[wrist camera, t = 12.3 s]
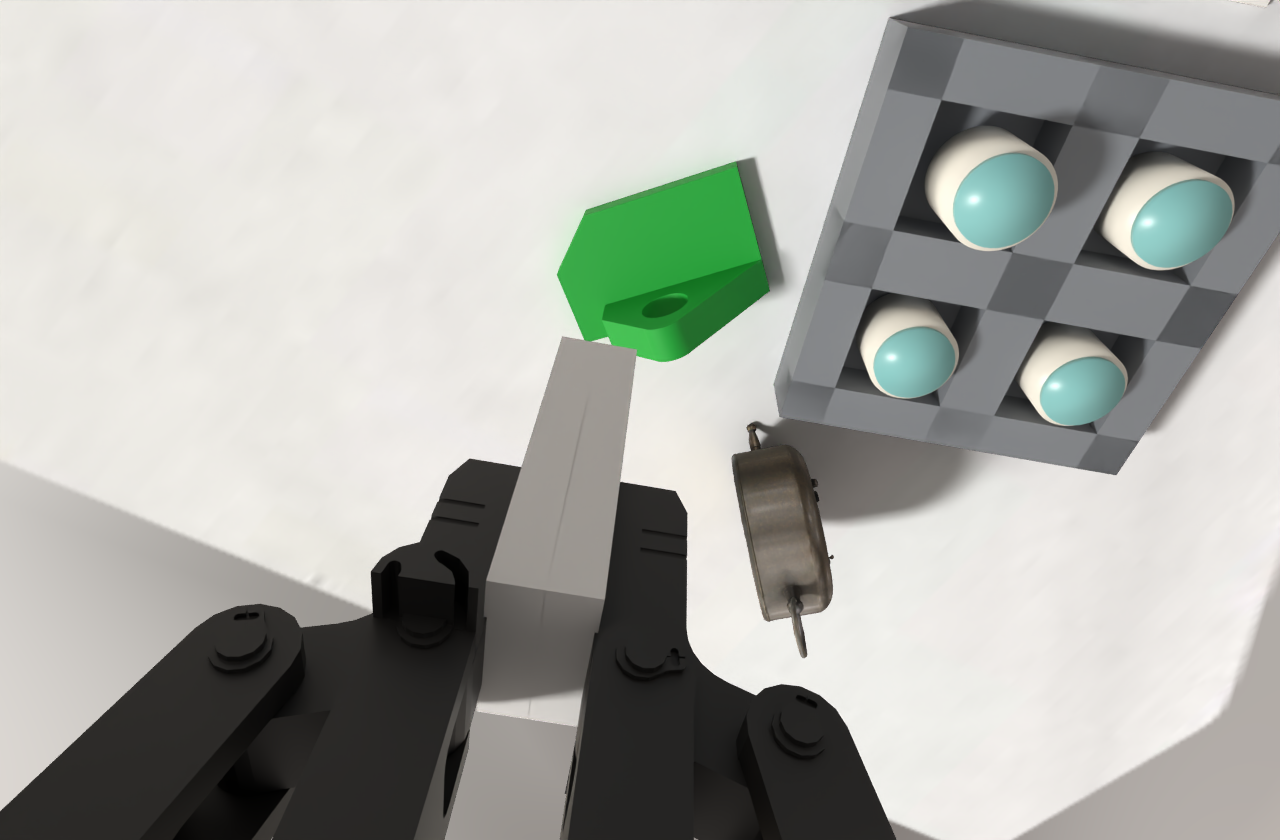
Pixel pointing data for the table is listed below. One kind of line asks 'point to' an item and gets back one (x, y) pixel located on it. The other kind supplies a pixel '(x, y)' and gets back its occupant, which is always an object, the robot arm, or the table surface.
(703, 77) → the table surface
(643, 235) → the bracket
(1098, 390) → the button
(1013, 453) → the button board
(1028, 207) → the button
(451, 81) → the table surface
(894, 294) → the button
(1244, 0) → the tile
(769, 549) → the alarm clock
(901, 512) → the table surface
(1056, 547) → the table surface
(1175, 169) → the button
